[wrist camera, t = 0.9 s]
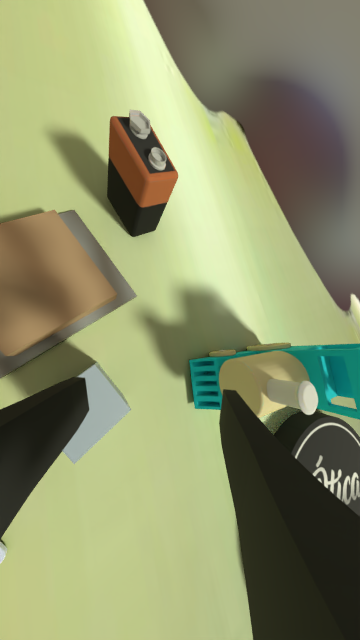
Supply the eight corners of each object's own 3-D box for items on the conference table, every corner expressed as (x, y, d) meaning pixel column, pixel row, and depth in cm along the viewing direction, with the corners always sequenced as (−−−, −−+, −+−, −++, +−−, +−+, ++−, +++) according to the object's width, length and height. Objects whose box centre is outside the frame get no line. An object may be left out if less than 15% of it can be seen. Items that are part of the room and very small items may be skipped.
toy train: (185, 354, 24) (289, 355, 11) (263, 343, 31) (383, 335, 18) (192, 412, 23) (317, 493, 10) (271, 387, 30) (406, 413, 17)
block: (82, 430, 18) (74, 464, 12) (51, 394, 17) (28, 412, 12) (123, 394, 20) (131, 409, 14) (96, 361, 19) (94, 364, 14)
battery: (132, 191, 25) (149, 104, 16) (156, 231, 26) (185, 167, 17) (105, 196, 23) (108, 99, 14) (131, 239, 24) (149, 170, 15)
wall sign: (286, 758, 17) (266, 426, 24) (255, 690, 20) (246, 417, 27) (399, 600, 29) (364, 410, 35) (368, 574, 32) (342, 405, 39)
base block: (-6, 381, 15) (-23, 386, 13) (-113, 262, 14) (-151, 246, 12) (136, 296, 22) (139, 290, 20) (74, 212, 21) (71, 196, 19)
